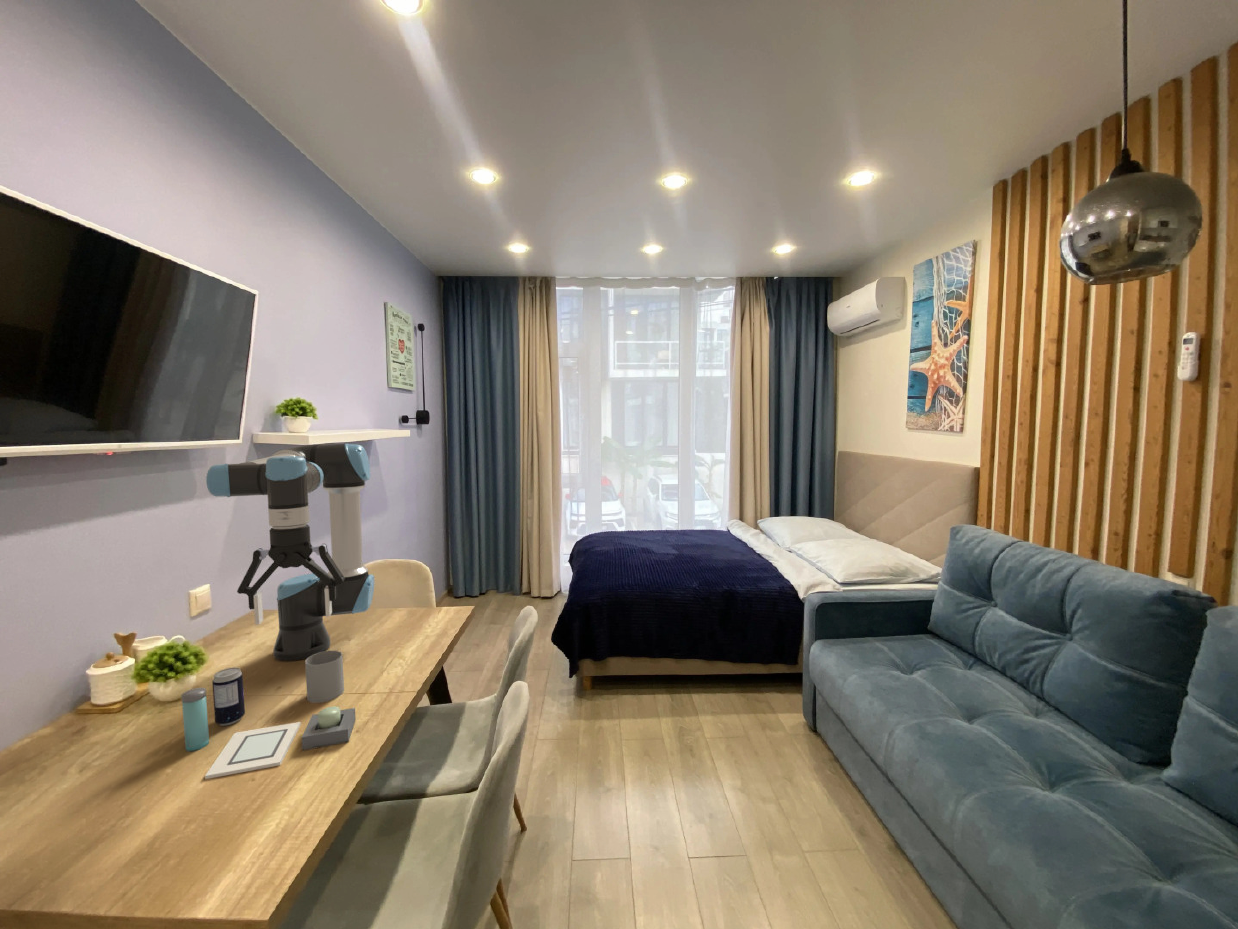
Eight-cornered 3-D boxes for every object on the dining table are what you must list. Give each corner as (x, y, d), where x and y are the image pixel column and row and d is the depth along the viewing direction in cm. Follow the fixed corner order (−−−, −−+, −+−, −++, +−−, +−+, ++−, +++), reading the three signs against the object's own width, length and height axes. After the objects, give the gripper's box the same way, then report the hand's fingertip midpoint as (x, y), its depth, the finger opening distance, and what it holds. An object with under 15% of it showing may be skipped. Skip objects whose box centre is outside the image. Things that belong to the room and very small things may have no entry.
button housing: (312, 727, 118) (312, 714, 118) (355, 719, 121) (355, 707, 121) (302, 750, 109) (301, 737, 109) (348, 742, 112) (347, 729, 112)
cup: (327, 704, 127) (325, 666, 127) (299, 701, 129) (297, 663, 128) (351, 687, 136) (349, 651, 135) (324, 684, 137) (323, 649, 137)
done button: (321, 721, 116) (320, 708, 116) (342, 718, 118) (341, 705, 117) (316, 732, 112) (315, 718, 112) (338, 728, 114) (337, 715, 113)
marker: (190, 742, 113) (186, 689, 112) (212, 738, 114) (209, 686, 113) (181, 753, 109) (177, 699, 108) (204, 749, 110) (200, 695, 109)
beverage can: (250, 716, 122) (247, 668, 122) (226, 729, 117) (222, 679, 116) (234, 712, 124) (231, 665, 123) (209, 725, 119) (206, 676, 118)
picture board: (235, 735, 115) (234, 732, 115) (300, 724, 119) (300, 721, 119) (204, 779, 101) (204, 775, 101) (280, 765, 105) (280, 761, 105)
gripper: (215, 533, 104) (221, 632, 106) (349, 524, 113) (353, 617, 114) (229, 526, 112) (235, 619, 113) (354, 519, 120) (358, 606, 121)
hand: (294, 618), depth 114 cm, fingers open, 13 cm apart
